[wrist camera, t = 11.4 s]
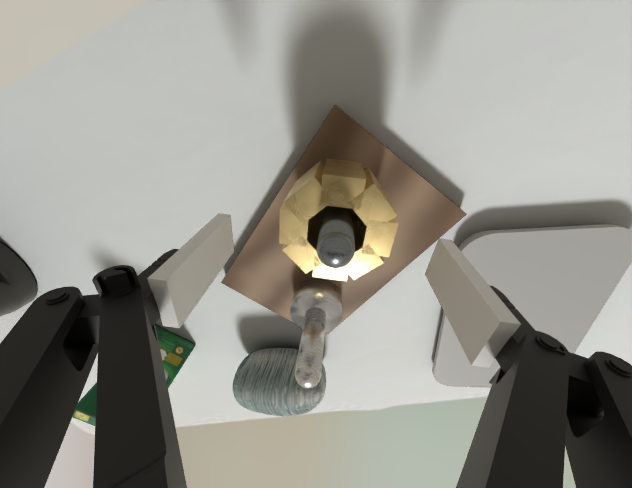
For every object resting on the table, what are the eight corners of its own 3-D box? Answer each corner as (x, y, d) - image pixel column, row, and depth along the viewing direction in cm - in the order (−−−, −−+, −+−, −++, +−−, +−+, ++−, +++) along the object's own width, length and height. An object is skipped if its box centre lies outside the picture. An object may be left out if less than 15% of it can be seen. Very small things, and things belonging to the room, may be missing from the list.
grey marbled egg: (239, 392, 40) (227, 444, 31) (238, 337, 40) (226, 371, 30) (319, 384, 43) (332, 430, 33) (319, 331, 42) (332, 361, 32)
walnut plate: (225, 275, 32) (220, 282, 31) (335, 105, 21) (334, 105, 20) (323, 330, 36) (322, 338, 34) (460, 208, 25) (466, 214, 23)
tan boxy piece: (290, 241, 23) (279, 272, 19) (294, 154, 19) (280, 169, 15) (373, 251, 23) (380, 285, 19) (394, 165, 19) (410, 184, 15)
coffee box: (145, 330, 40) (67, 419, 29) (150, 320, 39) (70, 410, 27) (191, 351, 42) (134, 444, 30) (196, 343, 40) (139, 436, 29)
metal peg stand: (296, 202, 24) (266, 266, 15) (332, 151, 22) (323, 189, 12) (343, 234, 26) (343, 312, 16) (382, 190, 23) (411, 252, 13)
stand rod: (285, 299, 31) (260, 386, 22) (311, 270, 29) (295, 354, 19) (323, 321, 33) (315, 412, 23) (351, 294, 30) (355, 386, 20)
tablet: (426, 371, 39) (431, 385, 37) (452, 225, 26) (461, 235, 24) (540, 374, 37) (551, 389, 35) (629, 214, 24) (654, 224, 22)
